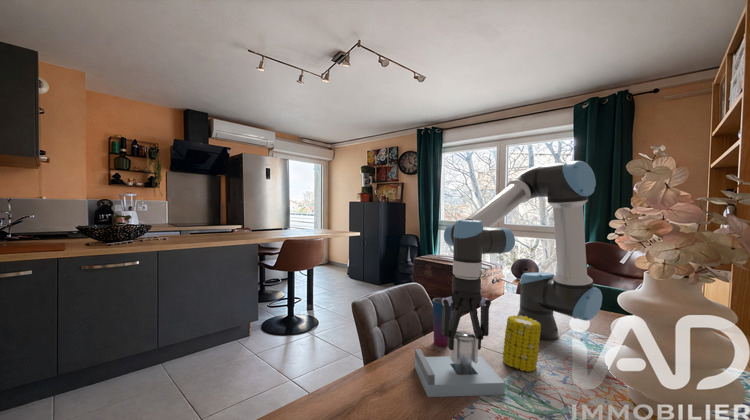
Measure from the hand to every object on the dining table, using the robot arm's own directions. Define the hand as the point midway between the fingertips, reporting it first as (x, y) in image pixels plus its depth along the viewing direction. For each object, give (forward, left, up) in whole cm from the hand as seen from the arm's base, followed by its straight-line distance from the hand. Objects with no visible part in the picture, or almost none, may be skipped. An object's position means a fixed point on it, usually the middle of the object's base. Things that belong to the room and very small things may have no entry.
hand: (463, 360), depth 82 cm
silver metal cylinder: (0, 0, -3) cm, 3 cm away
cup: (-1, -22, -5) cm, 23 cm away
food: (-21, -7, -5) cm, 23 cm away
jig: (+2, 0, -5) cm, 6 cm away
